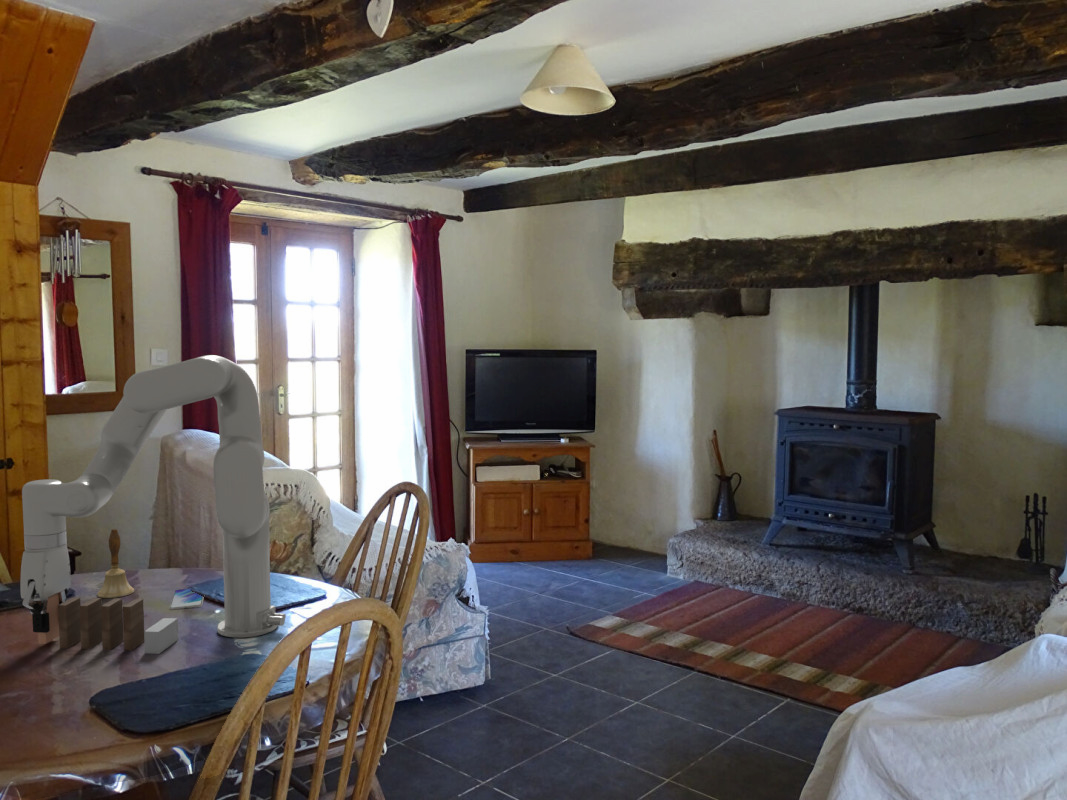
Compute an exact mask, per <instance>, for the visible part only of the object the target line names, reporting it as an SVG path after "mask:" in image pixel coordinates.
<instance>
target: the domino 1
mask: <svg viewBox="0 0 1067 800" xmlns="http://www.w3.org/2000/svg"><path fill="white" fill-rule="evenodd" d="M36 602H37V603H38V604H39V605H40V606H41V602H42V601H36ZM58 605H59V594H58V593H57V594H55V595H53V596H51V597H49V598H48V603H47V612H46V613H49V625H50V631H49V632H47V633H41V632H37V640H38V641H37V643H38V644H39V645H40V644H42V645H43V644H44V645H46V644H48V643H50V642H51V641H53V640H55V639H57V638H58V637H59V614H58Z"/></svg>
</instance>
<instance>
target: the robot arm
mask: <svg viewBox="0 0 1067 800" xmlns="http://www.w3.org/2000/svg"><path fill="white" fill-rule="evenodd" d="M258 397H259V396H258V392H257V389H256V386H255V384H254V381H253V380H252V377H250V375H249V374H248V372H247V371H246V370H244V368H242V367H241V366H240V365H239V364H237V363H236V362H234V361H232V360H230V359H228V358H226V357H223V356H220V355H216V354H215V355H214V354H207V355H201V356H197V357H195V358H191V359H187V360H184V361H180V362H176V363H172V364H168V365H165V366H161V367H155V368H152V369H147V370H141V371H139V372H136V373H134V374H132V375H131V376H130V377H129V378H128V379H127V380H126V382H125V384H124V387H123V396H122V398H121V400H119V403H118V404H117V406H116V407H115V409H114V410H113V412H112V413H111V414H110V416H109V418H108V419H107V420H106V423H105V424H104V425H103V427H102V429H101V433H100V444H99V446H98V448H97V450H96V452H95V454H94V456H93V457H92V459H91V461H90V462H89V463H88V465H87V467H86V468H85V469H84V471H83V473H81V476H80V477H78V478H76V479H75V480H73V481H70V482H64V483H63V482H62V481H61V480H59V479H54V478H53V479H50V478H49V479H38V480H37V479H36V480H30V481H28V482H26V483H24V485H23V486H22V489H21V497H22V519H23V540H24V541H23V543H24V551H23V553H22V557H21V567H20V584H19V585H20V597H21V599H22V600H23V601H22V606H24V607H25V608H27V609H28V610H29V613H30V614H31V615H32V616H31V618H32V619H31V621H32V632H33V633H38V632H41V633H47V632H49V631H50V625H49V613H46V612H47V603H48V598H49V597H51V596H53V595H55V594H57V593H58V594H59V604H61V603H63V602H65V601H67V595H68V593H69V592H68V591H69V589H70V588H71V586H72V580H71V564H70V562H71V561H70V555H69V550H68V546H67V545H68V544H67V543H68V542H67V541H68V538H67V519H66V518H86V517H89V516H91V515H93V514H95V513H96V512H97V511H99V509H101V508H102V507H103V506H105V505H106V504H107V503H108V502H109V501H110V499H111V498H112V497H113V495H114V493H115V492H116V490H117V489H118V487H119V486H120V484H121V483H122V481H123V479H124V478H125V476H126V475H127V474H128V472H129V470H130V468H131V466H132V465H133V463H134V462H135V460H136V459H137V457H138V456H139V454H140V453H141V451H142V449H143V447H144V446H145V444H146V443H147V441H148V440H149V438H150V436H151V434H152V433H153V432H154V429H155V428H156V427H157V425H158V423H159V422H160V421H161V419H162V418H163V416H164V415H165V413H166V412H167V410H170V409H173V408H177V407H182V406H184V405H189V404H192V403H193V404H194V403H197V402H200V401H203V400H204V401H205V400H208V399H212V398H214V399H215V401H216V406H217V423H218V431H219V435H218V436H219V447H218V448H217V450H216V452H215V455H214V456H213V457H214V458H213V462H212V463H213V464H212V466H213V469H212V470H213V473H212V474H213V484H214V485H213V486H214V497H215V498H214V499H215V500H214V501H215V512H216V520H217V523H218V525H219V527H220V529H221V531H222V555H223V557H222V559H223V560H222V561H223V562H222V563H223V564H222V565H223V567H222V568H223V597H224V598H223V599H224V600H223V602H224V603H223V604H224V620H222V621H220V622H219V623H218V624H217V629H216V630H217V633H218V634H219V635H221V636H224V637H227V638H234V639H235V638H238V639H240V638H241V639H243V638H252V637H258V636H262V635H266V634H268V633H271V632H273V631H275V630H276V629H277V628H278V627H279V626H281V627H283V626H284V625H285V623H286V622H285V621H286V614H285V613H281V612H280V613H277V612H276V606H275V605H272V604H271V564H270V563H271V562H270V560H271V559H270V555H271V554H270V553H271V552H270V551H271V550H270V549H271V546H270V522H271V521H270V516H271V515H270V514H271V512H270V511H271V509H270V501H269V498H268V495H267V493H266V492H265V488H264V487H265V485H264V470H263V467H264V464H265V452H264V451H265V450H264V447H263V446H264V445H263V438H262V437H263V436H262V423H261V415H260V406H259V398H258ZM36 601H42V602H41V606H40V605H39V604H38V603H37V602H36Z"/></svg>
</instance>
